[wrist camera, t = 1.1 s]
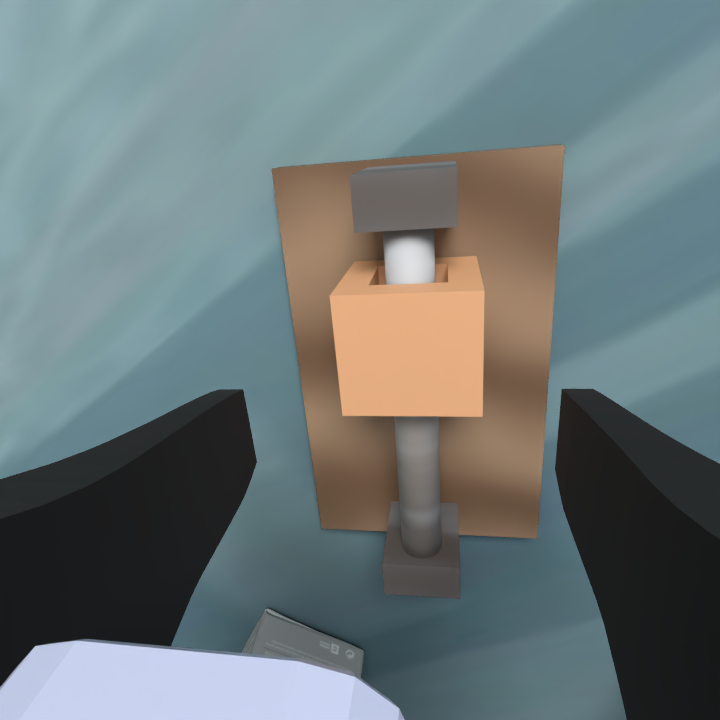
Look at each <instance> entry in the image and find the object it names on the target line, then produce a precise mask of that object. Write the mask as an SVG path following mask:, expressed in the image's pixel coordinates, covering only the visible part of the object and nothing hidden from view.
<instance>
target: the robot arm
mask: <svg viewBox="0 0 720 720" xmlns="http://www.w3.org/2000/svg"><path fill="white" fill-rule="evenodd" d="M256 463H257V460H256V455H255V450H254V445H253V439H252V434H251V429H250V423H249V418H248V413H247V408H246V402H245V397H244V392H243V390H216V391H213V392H210V393H208V394H206V395H203V396H201V397H199V398H197V399H195V400H193V401H190V402H188V403H186V404H184V405H182V406H180V407H178V408H176V409H174V410H172V411H170V412H168V413H166V414H165V415H163V416H161V417H159V418H157V419H155V420H153V421H151V422H149V423H147V424H144V425H142V426H140V427H138V428H136V429H134V430H132V431H129V432H127V433H125V434H123V435H121V436H119V437H117V438H114V439H112V440H110V441H108V442H106V443H103V444H101V445H99V446H96V447H94V448H91V449H89V450H87V451H84V452H81V453H79V454H76V455H73V456H71V457H68V458H65V459H63V460H60V461H57V462H54V463H52V464H49V465H45V466H42V467H39V468H36V469H33V470H29V471H26V472H23V473H20V474H16V475H13V476H10V477H7V478H3V479H0V720H404V718H403V716H402V713H401V711H400V709H399V708H398V707H397V706H396V705H395V704H394V703H393V702H392V701H391V700H390V699H389V698H387V697H386V696H385V695H383V694H382V693H381V692H379V691H378V690H376V689H375V688H374V687H372V686H371V685H369V684H368V683H367V682H365V681H364V680H362V679H361V678H360V677H358V676H357V675H356V674H354V673H353V672H350V671H346V670H342V669H339V668H335V667H331V666H328V665H324V664H320V663H317V662H313V661H309V660H306V659H302V658H291V657H280V656H269V655H258V654H247V653H236V652H225V651H215V650H204V649H193V648H182V647H171V644H172V642H173V639H174V637H175V634H176V632H177V629H178V627H179V625H180V622H181V620H182V617H183V615H184V613H185V610H186V608H187V605H188V603H189V601H190V598H191V596H192V594H193V592H194V589H195V587H196V585H197V583H198V581H199V579H200V577H201V575H202V574H203V572H204V570H205V568H206V566H207V564H208V563H209V561H210V559H211V557H212V555H213V554H214V552H215V550H216V548H217V546H218V545H219V543H220V541H221V539H222V537H223V535H224V534H225V532H226V530H227V528H228V526H229V525H230V523H231V521H232V519H233V517H234V515H235V513H236V512H237V510H238V508H239V506H240V504H241V502H242V500H243V498H244V496H245V493H246V491H247V488H248V486H249V483H250V480H251V478H252V475H253V472H254V469H255V466H256ZM555 471H556V476H557V481H558V486H559V491H560V495H561V500H562V504H563V509H564V512H565V515H566V518H567V520H568V523H569V526H570V529H571V532H572V534H573V537H574V540H575V543H576V545H577V548H578V551H579V554H580V556H581V559H582V562H583V564H584V567H585V570H586V573H587V575H588V578H589V581H590V584H591V586H592V589H593V592H594V594H595V597H596V600H597V603H598V606H599V609H600V612H601V616H602V619H603V622H604V626H605V630H606V634H607V638H608V642H609V646H610V650H611V654H612V658H613V662H614V666H615V670H616V674H617V678H618V683H619V687H620V691H621V695H622V700H623V704H624V708H625V713H626V717H627V720H720V464H719V463H717V462H715V461H713V460H711V459H709V458H707V457H705V456H703V455H701V454H700V453H698V452H696V451H694V450H692V449H690V448H689V447H687V446H685V445H683V444H681V443H680V442H678V441H676V440H674V439H673V438H671V437H669V436H668V435H666V434H664V433H662V432H661V431H659V430H658V429H656V428H654V427H653V426H651V425H649V424H648V423H646V422H645V421H643V420H642V419H640V418H638V417H637V416H635V415H634V414H632V413H631V412H629V411H628V410H626V409H625V408H623V407H621V406H620V405H618V404H617V403H615V402H614V401H612V400H611V399H609V398H608V397H606V396H604V395H603V394H601V393H599V392H598V391H596V390H594V389H562V394H561V406H560V418H559V430H558V442H557V454H556V466H555Z"/></svg>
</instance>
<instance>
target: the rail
mask: <svg viewBox="0 0 720 720" xmlns="http://www.w3.org/2000/svg"><path fill="white" fill-rule="evenodd" d="M564 150H565V145H548V146H535V147H523V148H511V149H498V150H486V151H474V152H461V153H449V154H437V155H424V156H412V157H399V158H387V159H375V160H362V161H350V162H338V163H325V164H313V165H301V166H288V167H278V168H273V169H272V175H273V183H274V190H275V197H276V204H277V211H278V218H279V226H280V233H281V240H282V247H283V254H284V262H285V269H286V276H287V283H288V290H289V297H290V305H291V312H292V319H293V326H294V333H295V340H296V348H297V355H298V362H299V369H300V376H301V384H302V391H303V398H304V405H305V412H306V419H307V427H308V434H309V441H310V448H311V455H312V463H313V470H314V477H315V484H316V491H317V498H318V506H319V513H320V520H321V527H322V529H344V530H366V531H387V534H386V540H385V547H384V553H383V560H382V571H383V583H384V594H394V595H409V596H424V597H439V598H454V599H460V556H459V535H475V536H496V537H518V538H537V536H538V522H539V508H540V493H541V479H542V465H543V450H544V436H545V422H546V407H547V393H548V379H549V364H550V350H551V336H552V322H553V307H554V293H555V279H556V264H557V250H558V236H559V221H560V207H561V193H562V178H563V164H564ZM465 256H477V260H478V265H479V269H480V273H481V277H482V282H483V286H484V290H485V292H484V360H483V417H445V416H342V407H341V398H340V388H339V379H338V370H337V360H336V351H335V342H334V333H333V323H332V314H331V305H330V295H331V293H332V292H333V290H334V289H335V288H336V286H337V285H338V284H339V282H340V281H341V279H342V278H343V277H344V275H345V274H346V273H347V271H348V270H349V268H350V267H351V266H352V264H353V263H354V262H357V261H379V260H384V262H385V278H386V285H392V284H418V283H435V258H444V257H465Z"/></svg>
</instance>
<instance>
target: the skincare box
mask: <svg viewBox="0 0 720 720" xmlns="http://www.w3.org/2000/svg"><path fill="white" fill-rule="evenodd" d="M241 653H247V654H258V655H269V656H280V657H291V658H302V659H306V660H309V661H313V662H317V663H320V664H324V665H328V666H331V667H335V668H339V669H342V670H346V671H350V672H353V673H354V674H356V675H357V676H358V677H360V678H361V676H362V668H363V658H364V651H363V650H361V649H359V648H357V647H355V646H353V645H351V644H348V643H346V642H344V641H341V640H339V639H336V638H333V637H331V636H328V635H326V634H323V633H321V632H318V631H315V630H313V629H311V628H309V627H307V626H305V625H302V624H300V623H298V622H296V621H293V620H291V619H289V618H287V617H285V616H283V615H280V614H279V613H277V612H275V611H273V610H271V609H265V611H264V613H263V614H262V616H261V617H260V619H259V621H258V622H257V624H256V626H255V628H254V629H253V631H252V633H251V635H250V637H249V639H248V641H247V642H246V644H245V646H244V648H243V650H242V652H241Z"/></svg>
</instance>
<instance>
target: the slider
mask: <svg viewBox="0 0 720 720" xmlns="http://www.w3.org/2000/svg"><path fill="white" fill-rule="evenodd" d="M484 292H485V290H484V286H483V282H482V277H481V273H480V269H479V265H478V260H477V256H465V257H444V258H435V283H418V284H392V285H386V278H385V262H384V260H379V261H357V262H354V263H353V264H352V266H351V267H350V268H349V270H348V271H347V273H346V274H345V275H344V277H343V278H342V279H341V281H340V282H339V284H338V285H337V286H336V288H335V289H334V290H333V292H332V293H331V295H330V305H331V314H332V323H333V333H334V342H335V351H336V360H337V370H338V379H339V388H340V398H341V407H342V416H445V417H483V360H484Z"/></svg>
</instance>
